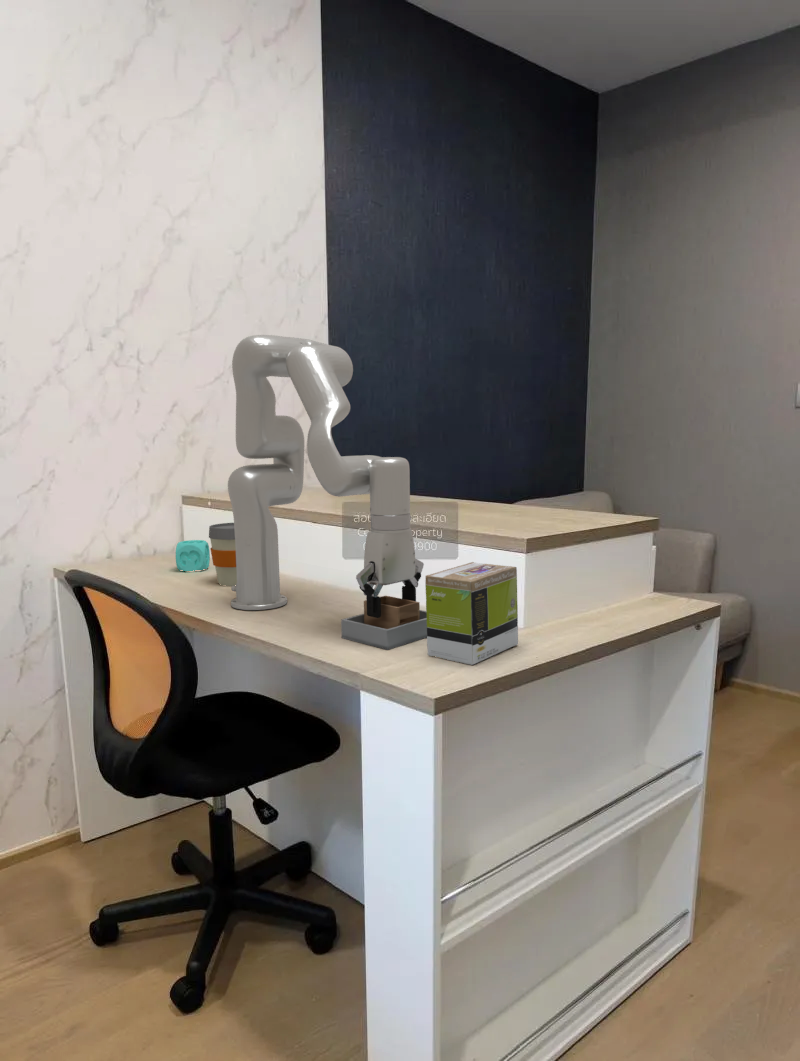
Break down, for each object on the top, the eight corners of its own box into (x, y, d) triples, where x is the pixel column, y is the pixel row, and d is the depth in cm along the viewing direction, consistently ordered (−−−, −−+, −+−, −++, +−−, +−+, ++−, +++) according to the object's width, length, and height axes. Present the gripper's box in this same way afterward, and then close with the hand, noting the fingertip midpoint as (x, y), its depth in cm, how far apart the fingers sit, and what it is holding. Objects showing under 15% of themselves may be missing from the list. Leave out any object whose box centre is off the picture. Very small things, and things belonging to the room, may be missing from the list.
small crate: (364, 631, 149) (363, 600, 148) (386, 625, 153) (385, 595, 152) (398, 639, 142) (397, 608, 142) (419, 632, 147) (419, 602, 146)
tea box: (473, 637, 146) (473, 560, 144) (519, 646, 139) (519, 565, 137) (425, 656, 134) (424, 573, 132) (472, 667, 128) (472, 579, 126)
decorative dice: (182, 567, 223) (181, 540, 222) (210, 566, 223) (209, 539, 222) (176, 572, 215) (174, 544, 214) (205, 572, 215) (203, 543, 214)
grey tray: (341, 637, 146) (341, 619, 146) (396, 622, 157) (396, 605, 157) (387, 650, 138) (387, 630, 138) (442, 632, 149) (442, 614, 148)
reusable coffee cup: (266, 577, 205) (263, 522, 203) (252, 587, 193) (249, 528, 191) (220, 577, 207) (217, 522, 205) (204, 587, 194) (200, 528, 192)
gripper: (406, 517, 153) (408, 601, 156) (342, 526, 141) (345, 617, 143) (435, 519, 148) (436, 606, 151) (371, 529, 136) (373, 624, 138)
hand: (391, 611), depth 147 cm, fingers open, 9 cm apart
